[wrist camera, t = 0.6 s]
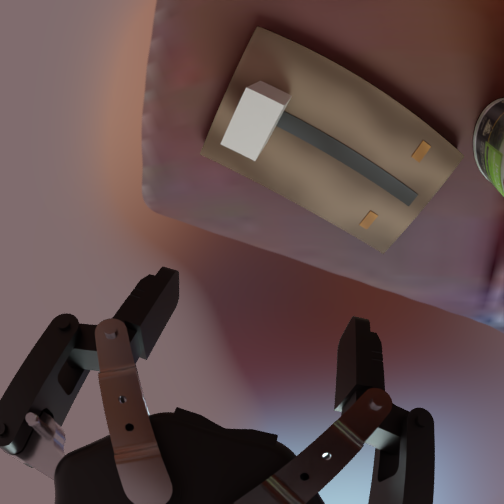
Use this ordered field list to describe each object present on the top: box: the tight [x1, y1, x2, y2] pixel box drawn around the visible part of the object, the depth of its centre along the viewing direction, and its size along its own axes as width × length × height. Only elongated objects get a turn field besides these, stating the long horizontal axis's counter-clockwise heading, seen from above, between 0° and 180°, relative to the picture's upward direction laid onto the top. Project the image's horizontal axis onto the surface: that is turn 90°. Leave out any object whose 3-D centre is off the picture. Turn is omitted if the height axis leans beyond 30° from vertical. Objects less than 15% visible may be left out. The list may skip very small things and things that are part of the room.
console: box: [200, 26, 464, 254], centre depth 27 cm, size 14×22×2 cm, turn 65°
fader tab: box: [221, 81, 292, 161], centre depth 23 cm, size 5×3×5 cm, turn 155°
